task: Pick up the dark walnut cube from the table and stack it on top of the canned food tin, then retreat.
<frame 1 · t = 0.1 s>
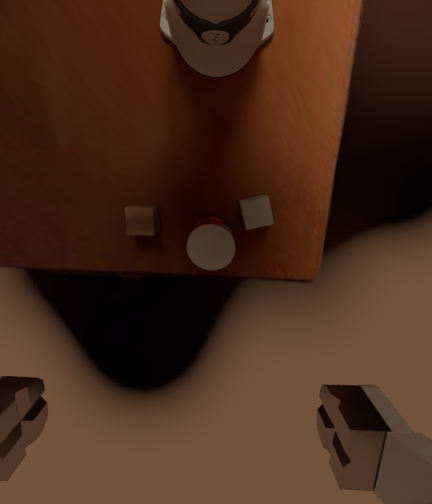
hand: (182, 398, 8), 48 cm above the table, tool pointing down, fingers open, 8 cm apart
walnut block: (146, 217, 55), on the table
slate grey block: (253, 210, 55), on the table
canned food: (212, 235, 56), on the table
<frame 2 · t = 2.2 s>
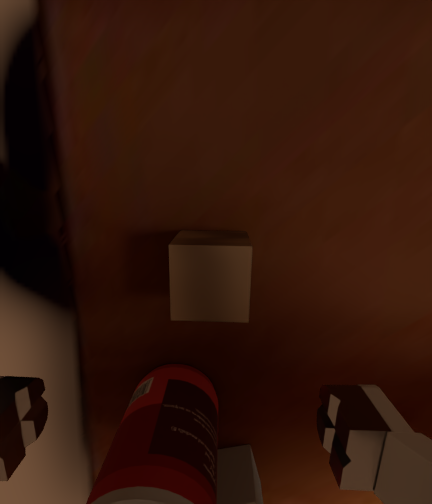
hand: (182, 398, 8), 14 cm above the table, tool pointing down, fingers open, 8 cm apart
walnut block: (213, 261, 22), on the table
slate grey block: (230, 467, 27), on the table
canned food: (177, 396, 26), on the table
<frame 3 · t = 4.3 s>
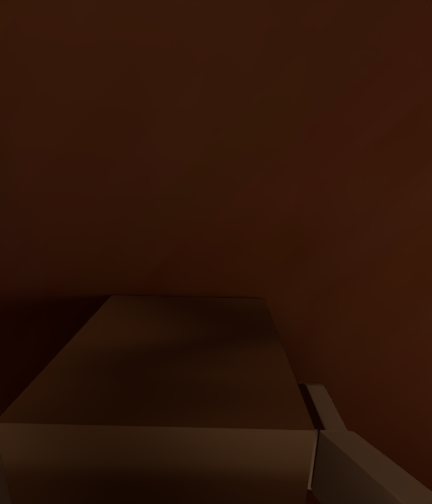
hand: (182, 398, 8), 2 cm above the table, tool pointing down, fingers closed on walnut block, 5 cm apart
walnut block: (188, 362, 10), on the table, touching gripper
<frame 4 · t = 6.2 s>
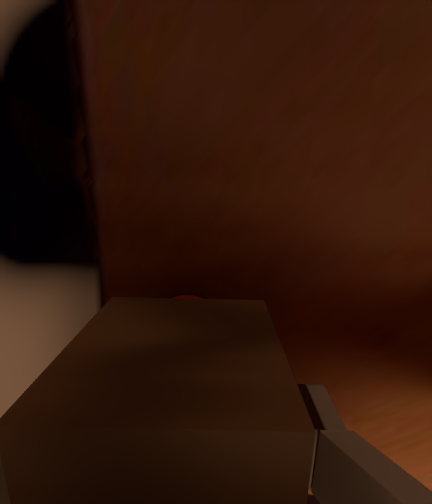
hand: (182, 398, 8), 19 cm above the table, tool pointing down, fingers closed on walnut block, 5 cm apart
walnut block: (188, 364, 10), point 18 cm above the table, touching gripper
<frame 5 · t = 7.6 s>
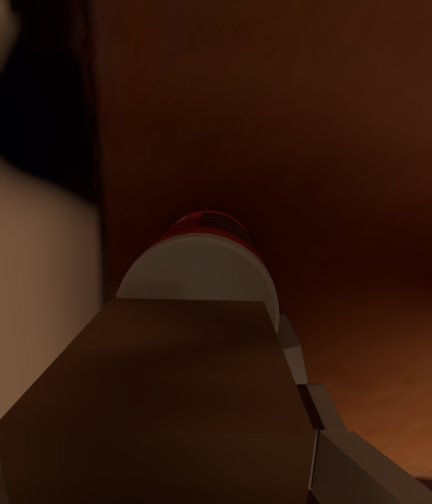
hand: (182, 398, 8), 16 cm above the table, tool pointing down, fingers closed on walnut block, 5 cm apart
walnut block: (188, 365, 10), point 14 cm above the table, touching gripper
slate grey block: (262, 342, 25), on the table
canned food: (207, 256, 23), on the table
when the fingers open (14 cm above the table, at t = 8.4 s): walnut block drops 1 cm, resting on canned food.
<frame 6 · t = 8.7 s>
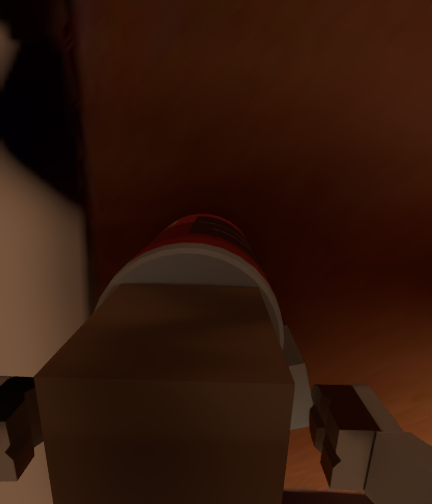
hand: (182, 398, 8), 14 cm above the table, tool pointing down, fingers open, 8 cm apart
walnut block: (189, 346, 11), point 11 cm above the table, touching canned food
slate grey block: (262, 356, 24), on the table
canned food: (202, 263, 22), on the table, touching walnut block
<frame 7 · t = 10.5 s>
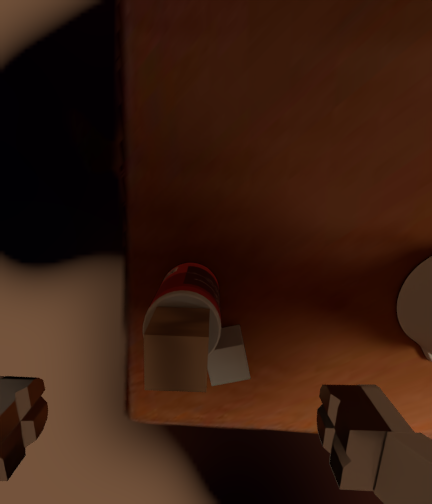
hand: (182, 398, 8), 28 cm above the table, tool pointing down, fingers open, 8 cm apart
walnut block: (182, 331, 27), point 11 cm above the table, touching canned food
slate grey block: (225, 343, 40), on the table
canned food: (190, 288, 38), on the table, touching walnut block
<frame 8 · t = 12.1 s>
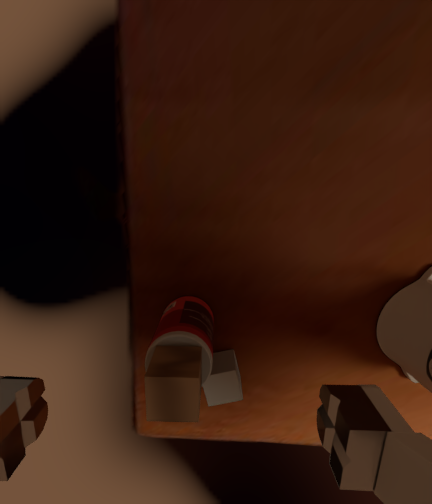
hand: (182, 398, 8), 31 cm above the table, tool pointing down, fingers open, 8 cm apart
walnut block: (179, 365, 31), point 11 cm above the table, touching canned food
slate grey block: (221, 365, 44), on the table
canned food: (188, 317, 42), on the table, touching walnut block
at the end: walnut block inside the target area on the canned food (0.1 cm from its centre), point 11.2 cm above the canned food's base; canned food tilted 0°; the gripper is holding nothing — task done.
